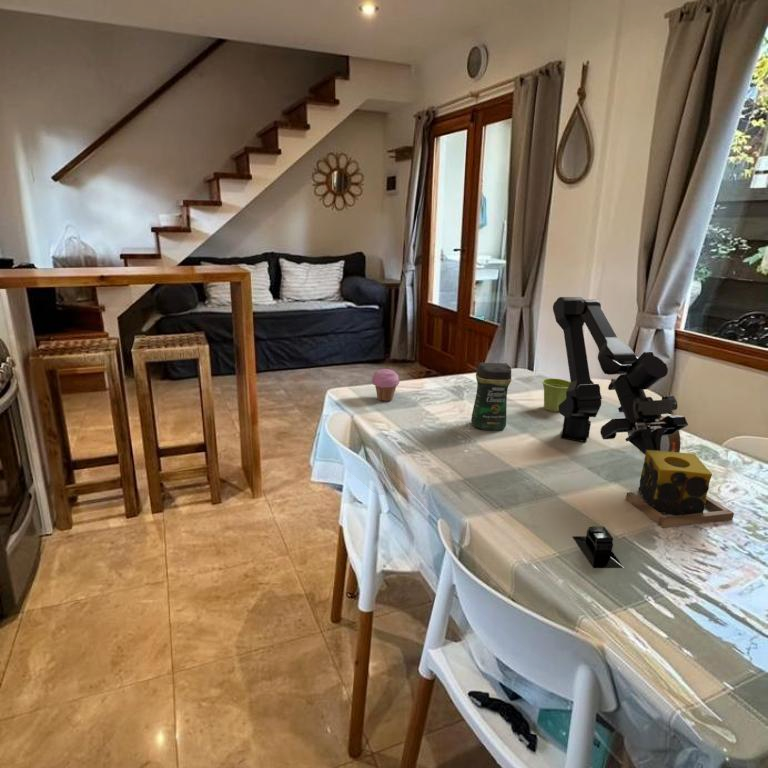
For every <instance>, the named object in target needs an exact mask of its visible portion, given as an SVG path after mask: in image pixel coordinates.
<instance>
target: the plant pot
mask: <svg viewBox="0 0 768 768" xmlns="http://www.w3.org/2000/svg"><path fill="white" fill-rule="evenodd" d="M541 382H542V384H543V385H542V386H543V408H544V409H546V410H547V411H550V412H554V413H555V412H559V405H560V404H561V403H562V402H563V401H564V400H565V399H566V391H567V389H568V387H569V385H570V382H571V381H570V380H566V379H562V378H554V377H553V378H549V377H547V378H544V379H542V380H541Z"/></svg>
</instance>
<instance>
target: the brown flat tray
mask: <svg viewBox="0 0 768 768" xmlns="http://www.w3.org/2000/svg"><path fill="white" fill-rule="evenodd" d="M626 499H627V502H629V503H630V502H631V504H632V505H633V506H634V505H635V506H634V507H636V508H637V509H638V510H639V509H640V510H639V511H641V512H642V511H643V512H644V514H645V515H646V516H647V517H648V518H650V519H651V520H653V521H654V522H655V523H656V524H657V525H659V526H660V527H662V528H671V527H678V526H679V527H680V526H688V525H696V524H697V525H698V524H706V523H715V522H723V521H730V520H731V521H732V520H733V518H734V515H735V512H733V511H732V510H730V509H729V508H727V507H726V506H723V504H721V503H719V502H717V501H716V500H715V499H713V498H711V497H709V495H707V496H706V504H705V507H707V508H708V509H709V510H711V511H707V512H703V513H696V514H687V515H670V516H665V515H664V514H663V513H659V512H658V511H657V510H655V509H654V508H652V507H651V506H650V505H648V504H647V503H646V502H645V500H644V499H643V498H640V497H639V495H636V494H635V493H633V492H632V491H631V492H629V491H627V492H626V495H625V500H626ZM643 512H642V513H643Z"/></svg>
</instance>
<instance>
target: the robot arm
mask: <svg viewBox="0 0 768 768" xmlns="http://www.w3.org/2000/svg"><path fill="white" fill-rule="evenodd" d="M601 306H602V304H601V302H600V301H599V300H598V299H585V298H583V297H581V296H558V298H557V299H555V301H554V303H553V305H552V312H553V315H554V319H555V321H556V323H557V325H558V326H559V327H560V328H561V329H562V330H563V331H562V332H563V337H564V342H565V350H566V351H565V352H566V357H567V358H566V359H567V364H568V365H567V367H568V373H569V379H570V380H569V382H570V385H569V387H568V389H567V391H566V399H565V400H564V401H563V402H562V403H561V404H560V405H559V411H558V414H560V415H561V416H563V424H562V429H561V434H560V438H561V439H565V440H566V439H567V440H573V441H578V442H583V443H586V442H587V439H589V437H590V429H591V423H592V421H591V420H590V418H596V417H597V415H598V414H599V411H600V409H601V407H602V399H603V397H602V395H601V386H600V384H599V383H594V382H593V381H592V379H591V375H590V369H589V361H588V354H587V349H586V342H585V337H584V336H585V334H584V329H583V328H584V324H585V325H586V327H587V329H588V331H589V333H590V335H591V337H592V340H593V341H594V343H595V345H596V346H597V349H598V354H597V360H598V362H599V363H598V364H599V366H600V368H601V371H602V373H604V374H605V375H608V376H615V375H616V376H617V375H618V376H617V377H616V378H611V380H610V382H609V384H608V386H607V390H608V391H615V393H616V396H617V399H618V401H619V404H620V407H618V408H617V409H618V412H619V413H623V414H624V417H623V418H612V419H611V420H609V421H608V422H606V423H605V424H603V425H602V426H601V427H600V431H599V432H600V436H601V438H602V440H614V439H615V438H616V437H617V435H618V434H619V433H627V435H628V436H627V437H626V438H624V439H625V442H629V443H630V444H632V445H633V446H634V447H636V448H637V449H638V450H639V451H640V452H641V453H642V454H643V455H644V456H645V453H646V450H656V451H660V445H661V437H662V435H671V434H674V433H676V432H678V431H679V432H680V431H681V430H682V429H684V428H686V427H688V426H689V424H688V421H687V419H686V417H685V416H684V415H681V414H674V413H673V411H676V410H677V409H678V407H679V406H678V402H677V399H676V398H675V396H674V395H666V396H665V395H664V396H662V397H661V399H655V400H654V399H653V398H652V397H651V396H647V395H646V393H645V392H646V391H645V390H649V389H650V388H651V387H652V386H654V385H655V384H657V383H658V382H659V381H661V380H662V379H663V378H665V377H666V376H667V375H668V373H669V371H668V369H669V368H668V365H667V363H665V362H664V360H662V359H661V358H660V357H658V356H655V354H654V353H653V351H644V352H642V354H641V355H640V356H639V357H638V356H637V355H636V354H635V352H634V350H632V348H631V347H630V345H628V344H626V343H625V342H623V341H622V340H620V339H619V338H618V336H617V334H616V333H615V331H614V329H613V327H612V326H611V323H610V322H609V321H608V319H607V317H606V315H605V313H604V311H603V310H602V307H601ZM666 414H667V415H666ZM662 415H666V416H667V417H666V416H664V417H665V418H663V419H662V420H660V421H656V419H659V418H661V417H662ZM617 433H618V434H617Z"/></svg>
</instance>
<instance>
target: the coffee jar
mask: <svg viewBox="0 0 768 768" xmlns="http://www.w3.org/2000/svg"><path fill="white" fill-rule="evenodd" d="M476 369H477V370H476V373H475V379H476V383H477V385H476V386H477V387H476V395H475V398H474V399H475V400H474V405H473V409H472V412H471V413H472V414H471V420H470V421H471V424H472V426H473V427H475V428H477V429H479V430H491V431H494V430H495V431H497V430H499V431H500V430H504V429H505V428H506V426H507V402H508V401H507V399H508V398H507V397H508V389H509V385H511V384H510V383H511V382H512V367H511V366H510V364H508V363H506V362H478V365H477V368H476Z"/></svg>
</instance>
